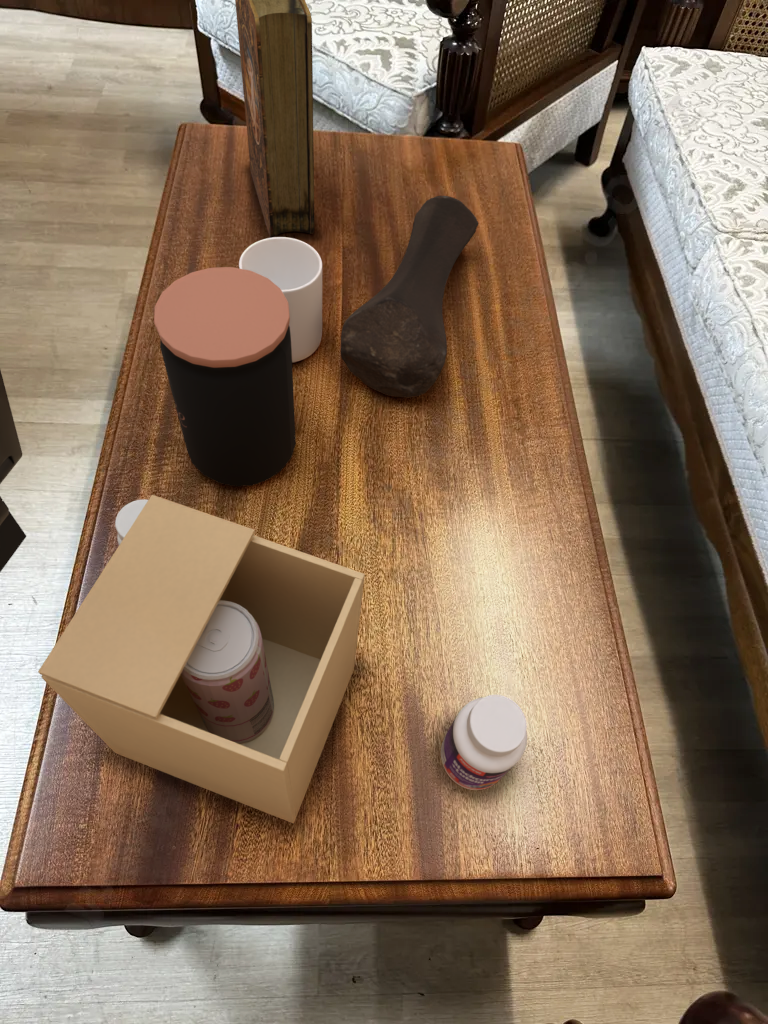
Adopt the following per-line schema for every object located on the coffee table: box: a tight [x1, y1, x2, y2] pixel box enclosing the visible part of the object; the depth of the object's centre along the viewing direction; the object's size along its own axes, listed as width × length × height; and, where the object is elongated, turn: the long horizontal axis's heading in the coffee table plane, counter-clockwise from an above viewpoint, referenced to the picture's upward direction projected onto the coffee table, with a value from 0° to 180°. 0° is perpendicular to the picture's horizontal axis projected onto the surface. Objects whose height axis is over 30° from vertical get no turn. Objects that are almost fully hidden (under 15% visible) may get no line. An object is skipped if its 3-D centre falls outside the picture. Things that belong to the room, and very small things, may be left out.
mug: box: [238, 236, 323, 363], centre depth 76 cm, size 12×8×10 cm
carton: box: [41, 534, 366, 824], centre depth 51 cm, size 15×13×18 cm
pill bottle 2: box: [440, 694, 528, 791], centre depth 54 cm, size 5×5×10 cm
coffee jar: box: [153, 266, 297, 487], centre depth 65 cm, size 11×11×18 cm
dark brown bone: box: [340, 195, 479, 399], centre depth 81 cm, size 11×10×28 cm
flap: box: [37, 494, 256, 719], centre depth 43 cm, size 7×13×1 cm, turn 161°
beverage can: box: [181, 600, 274, 744], centre depth 51 cm, size 6×6×15 cm
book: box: [234, 0, 315, 238], centre depth 83 cm, size 16×6×25 cm, turn 15°
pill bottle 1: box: [114, 498, 149, 546], centre depth 61 cm, size 5×5×8 cm
